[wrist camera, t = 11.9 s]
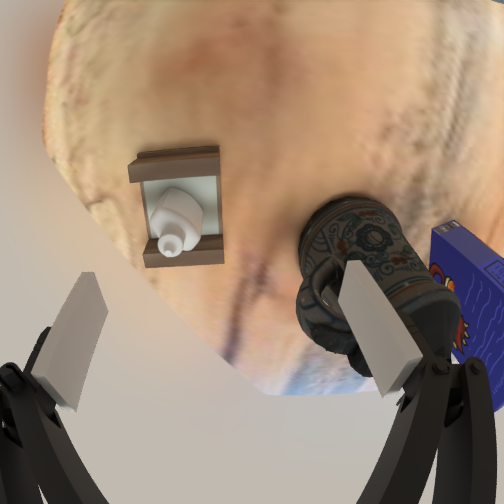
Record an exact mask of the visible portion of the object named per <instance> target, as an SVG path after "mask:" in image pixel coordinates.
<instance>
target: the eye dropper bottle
mask: <svg viewBox="0 0 504 504" xmlns="http://www.w3.org/2000/svg"><path fill="white" fill-rule="evenodd" d="M202 222H203V210H202V208H201V207H200V205H199V204H198V202H197V201H196V200H195V199H194V198H193V197H192V196H191V195H189V194H188V193H186V192H184V191H182V190H180V189H177V188H173V187H170V188H168V189H167V190H166V191H165V192H164V194H163V195H162V196H161V198H160V200H159V201H158V203H157V205H156V207H155V209H154V211H153V213H152V215H151V217H150V225H151V227H152V229H153V231H154V232H155V234H156V235H157V236H158V237H159V240H158V248H159V250H160V252H161V253H162V254H163V255H165V256H166V257H175V256H177V255H179V254H180V253H181V252H182V250H184V251H190V250H192V249H193V248H194V247H195V246H196V244H197V243H198V242H199V240H200V238H201V231H202Z"/></svg>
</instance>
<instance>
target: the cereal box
mask: <svg viewBox="0 0 504 504" xmlns="http://www.w3.org/2000/svg"><path fill="white" fill-rule="evenodd" d="M429 272H430V274H431V275H432V277H433V278H434V280H435V281H436V282H437V283H439V284H442V285H444V286H446V287H448V288H449V289H450V290H452V291H453V292H455V294H456V295H457V296H458V298H459V300H460V305H461V318H460V324H459V327H458V330H457V333H456V336H455V339H454V342H453V347H452V353H453V354H454V356H455V357H456V359H457V360H458V362H459V363H460V364H463V363H464V362H465V361H466V359H467V358H469V357H471V356H475V357H478V358H479V359H481V360H482V361H483V362H484V364H485V366H486V369H487V374H488V379H489V384H490V390H491V396H492V403H493V410H494V412H496V411H498V410H499V409H500V408H502V407H503V406H504V258H502V257H501V256H500V255H499V254H498V253H496V252H495V251H494V250H493V249H492V248H490V247H489V246H488V245H487V244H485V243H484V242H483V241H481V240H480V239H479V238H478V237H476V236H475V235H474V234H472V233H471V232H470V231H468V230H467V229H466V228H464V227H463V226H462V225H460V224H459V223H457V222H456V221H455V220H452V221H450V222H447V223H445V224H443V225H440V226H438V227H435V228H433V229H432V234H431V251H430V263H429Z"/></svg>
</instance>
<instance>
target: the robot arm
mask: <svg viewBox="0 0 504 504" xmlns="http://www.w3.org/2000/svg"><path fill="white" fill-rule="evenodd" d="M492 1H495V2H498V3H502V4H504V0H492ZM338 303H339V305H340V307H341V309H342V311H343V313H344V315H345V317H346V319H347V321H348V323H349V325H350V327H351V329H352V332H353V334H354V336H355V338H356V340H357V342H358V344H359V346H360V349H361V351H362V353H363V355H364V357H365V360H366V362H367V364H368V366H369V368H370V371H371V373H372V375H373V377H374V380H375V382H376V384H377V387H378V389H379V391H380V394H381V395H382V398H386V397H389V396H392V395H396V394H397V393H398V392H399V390H400V389H401V388H402V387H403V389H404V391H405V393H404V394H403V396H402V397H401V398H400V399H399V401H398V402H397V404H396V405H397V406H398V405H399V404H400V406H399V409H398V411H397V414H396V417H395V420H394V423H393V425H392V428H391V431H390V434H389V436H388V438H387V441H386V444H385V446H384V448H383V451H382V453H381V455H380V457H379V460H378V462H377V464H376V466H375V468H374V470H373V472H372V475H371V477H370V479H369V481H368V483H367V485H366V486H365V489H364V490H363V492H362V494H361V496H360V498H359V499H358V501H357V503H356V504H418V503H419V500H420V498H421V496H422V493H423V490H424V488H425V485H426V482H427V479H428V476H429V474H430V471H431V468H432V464H433V461H434V458H435V455H436V451H437V448H438V455H437V468H436V478H435V486H434V494H433V501H432V504H495V498H496V485H497V447H496V446H497V444H496V429H495V419H494V410H493V403H492V396H491V390H490V384H489V379H488V374H487V369H486V366H485V364H484V362H483V361H482V360H481V359H479V358H478V357H475V356H471V357H469V358H467V359H466V361H465V362H464V363H463V364H450V363H449V362H448V361H447V360H446V359H445V358H443V357H440V356H435V354H434V353H433V351H432V350H431V348H430V347H429V345H428V343H427V342H426V340H425V339H424V337H423V335H422V334H421V333H420V332H419V329H418V328H417V326H415V323H414V322H413V320H412V319H411V317H410V316H409V315H407V314H406V313H405V312H404V311H402V310H400V311H395V310H394V308H393V307H392V305H391V304H390V302H389V301H388V299H387V298H386V296H385V295H384V293H383V292H382V290H381V289H380V287H379V286H378V284H377V283H376V282H375V280H374V279H373V277H372V276H371V274H370V273H369V272H368V270H367V269H366V267H365V266H364V265H363V263H362V262H361V260H353V261H347V265H346V269H345V274H344V278H343V282H342V286H341V290H340V295H339V298H338ZM107 314H108V309H107V307H106V304H105V301H104V299H103V296H102V293H101V291H100V288H99V285H98V282H97V279H96V276H95V273H94V272H82V273H81V275H80V277H79V278H78V280H77V282H76V283H75V285H74V287H73V289H72V290H71V292H70V294H69V296H68V297H67V299H66V301H65V303H64V305H63V306H62V308H61V310H60V312H59V314H58V316H57V318H56V320H55V322H54V324H53V326H52V327H47V328H46V329H45V330H44V331H43V332H42V333H41V334H40V336H39V338H38V340H37V344H35V346H34V348H33V351H32V353H31V355H30V357H29V359H28V361H27V364H26V366H25V368H24V370H23V372H22V371H21V370H20V368H19V367H18V366H17V365H16V364H15V363H12V362H9V363H6V364H4V365H3V366H1V368H0V385H1V386H0V504H44V503H43V500H42V497H41V493H40V490H39V486H40V489H41V491H42V493H43V495H44V497H45V499H46V501H47V502H48V504H109V503H108V502H107V500H106V499H105V497H104V496H103V495H102V493H101V492H100V490H99V489H98V487H97V485H96V484H95V482H94V481H93V479H92V478H91V476H90V474H89V473H88V471H87V469H86V468H85V466H84V464H83V463H82V461H81V459H80V457H79V456H78V454H77V452H76V450H75V448H74V446H73V444H72V442H71V440H70V438H69V436H68V434H67V432H66V430H65V428H64V426H63V423H62V421H61V419H60V417H59V415H58V412H57V411H56V409H55V406H56V403H57V404H58V405H59V406H60V407H61V408H62V409H63V410H67V411H72V412H76V410H77V407H78V403H79V399H80V395H81V392H82V388H83V385H84V381H85V378H86V375H87V371H88V368H89V365H90V362H91V358H92V355H93V353H94V350H95V347H96V344H97V341H98V338H99V335H100V333H101V330H102V327H103V324H104V322H105V319H106V317H107ZM400 402H401V403H400ZM2 422H3V423H4V427H3V423H2ZM38 485H39V486H38Z"/></svg>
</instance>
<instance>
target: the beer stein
mask: <svg viewBox="0 0 504 504" xmlns="http://www.w3.org/2000/svg"><path fill="white" fill-rule="evenodd" d="M298 253H299V265H300V270H301V274H302V277H303V279H304V280H303V282H302V284H301V286H300V289H299V291H298V294H297V299H296V314H297V318H298V321H299V323H300V326H301V328H302V330H303V331H304V332H305V333H306V335H307V336H308V337H309V338H310V339H312V340H313V341H314V342H315V343H316V344H318V345H320V346H322V347H323V348H325V349H326V351H330V352H334V353H335V354H336V353H338V354H343V355H347V356H348V360H349V363H350V366H351V367H352V368H353V369H354V370H355V371H357V372H358V373H359V374H361V375H362V376H363V377H373V375H372V373H371V371H370V368H369V366H368V364H367V362H366V360H365V357H364V355H363V353H362V351H361V349H360V346H359V344H358V342H357V340H356V338H355V336H354V334H353V332H352V329H351V327H350V325H349V323H348V321H347V319H346V317H345V315H344V313H343V311H342V309H341V307H340V305H339V303H338V298H339V295H340V290H341V286H342V282H343V278H344V274H345V269H346V265H347V261H353V260H361V262H362V263H363V265H364V266H365V267H366V269H367V270H368V272H369V273H370V274H371V276H372V277H373V279H374V280H375V282H376V283H377V284H378V286H379V287H380V289H381V290H382V292H383V293H384V295H385V296H386V298H387V299H388V301H389V302H390V304H391V305H392V307H393V308H394V310H395V311H400V310H402V311H404V312H405V313H406V314H407V315H409V316H410V317H411V319H412V320H413V322H414V323H415V326H417V328H418V329H419V332H420V333H421V334H422V335H423V337H424V339H425V340H426V342H427V343H428V345H429V347H430V348H431V350H432V351H433V353H434V354H435V356H440V357H443V358H445V359H446V360H447V361H448V362H449V363H450V364H452V361H451V352H452V347H453V342H454V339H455V336H456V333H457V330H458V327H459V324H460V318H461V305H460V300H459V298H458V296H457V295H456V294H455V292H453V291H452V290H450V289H449V288H448V287H446V286H444V285H442V284H439V283H437V282H436V281H435V280H434V278H433V277H432V275H431V274H430V272H429V271H428V269H427V268H426V266H425V265H424V263H423V262H422V261H421V259H420V258H419V256H418V255H417V253H416V252H415V251H414V249H413V248H412V247H411V245H410V244H409V242H408V241H407V240H406V238H405V237H404V235H403V233H402V229H401V226H400V223H399V221H398V220H397V218H396V216H395V215H394V214H393V213H392V211H391V210H390V209H388V208H387V207H386V206H385V205H383V204H381V203H379V202H377V201H374V200H370V199H368V198H360V197H353V196H346V197H343V198H340V199H337V200H334V201H330V202H329V203H328V204H326V205H325V206H324V207H322V208H321V209H320V210H318V211H317V212H316V213H314V214H313V215H312V217H311V219H310V220H309V222H308V224H307V225H306V227H305V229H304V230H303V232H302V234H301V238H300V243H299V248H298ZM322 299H323V300H324V301H325V302H326V303H327V304H328V305H329V306H328V305H326V304H325V302H324V301H323V300H322Z"/></svg>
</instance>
